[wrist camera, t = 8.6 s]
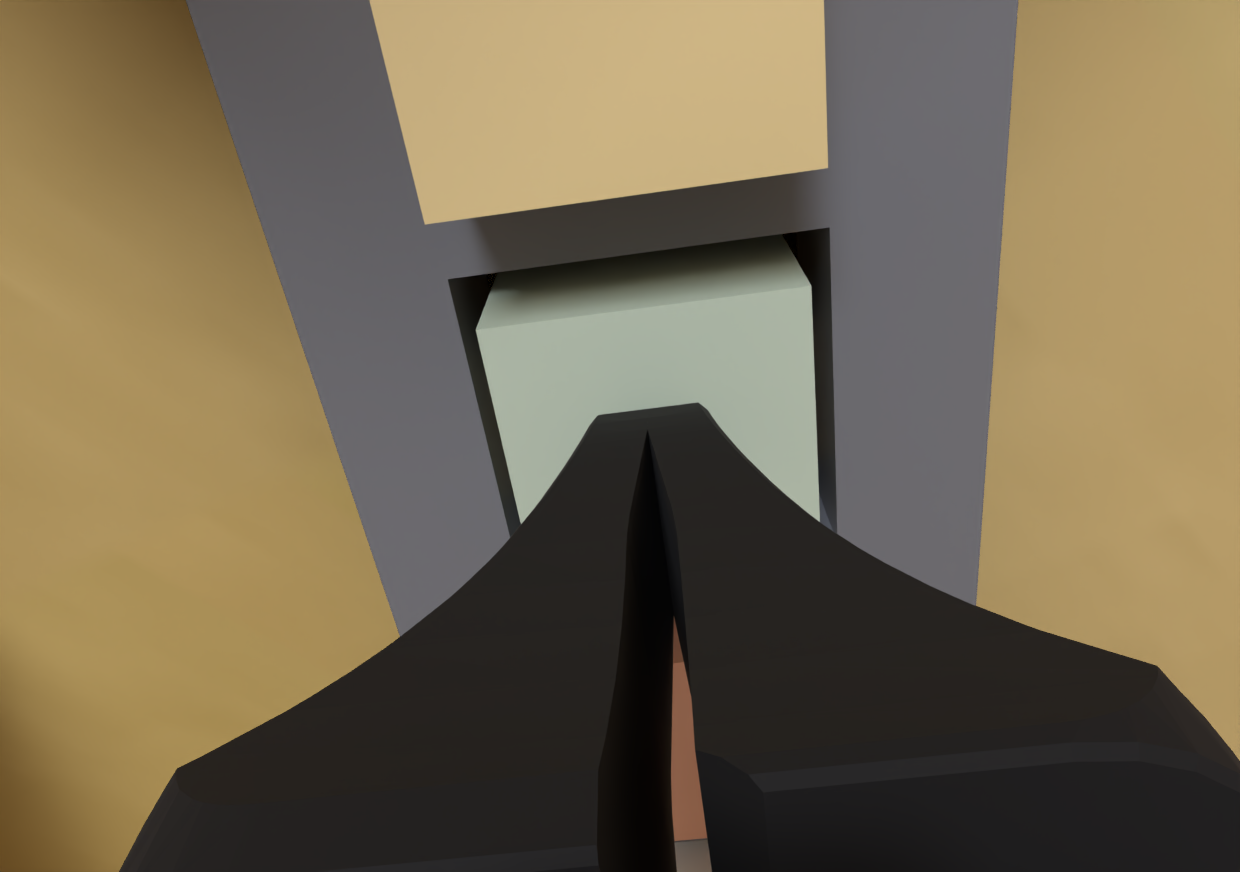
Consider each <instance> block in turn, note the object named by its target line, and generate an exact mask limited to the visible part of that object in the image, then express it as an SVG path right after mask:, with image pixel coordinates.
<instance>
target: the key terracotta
mask: <svg viewBox="0 0 1240 872" xmlns="http://www.w3.org/2000/svg"><path fill="white" fill-rule="evenodd" d="M671 790H672V816H673V829H674V841H680V840H691V839H702V838H707V832H706V825H705V818H704V811H703V804H702V796H701V789H700V782H699V775H698V768H697V761H696V753H695V742H694V727H693V713H692V699H691V694H690V689H689V684H688V680H687V675H686V670H685V666H684V661H683V656H682V651H681V647H680V642H679V637H678V633H677V628H676V623H675V618H674V637H673V696H672V750H671Z"/></svg>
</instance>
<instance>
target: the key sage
mask: <svg viewBox="0 0 1240 872" xmlns="http://www.w3.org/2000/svg"><path fill="white" fill-rule="evenodd" d="M476 333H477V338H478V342H479V346H480V351H481V355H482V359H483V363H484V368H485V372H486V376H487V381H488V385H489V389H490V394H491V398H492V402H493V406H494V411H495V415H496V419H497V424H498V428H499V432H500V437H501V441H502V445H503V449H504V454H505V458H506V462H507V467H508V471H509V475H510V479H511V484H512V488H513V492H514V497H515V501H516V505H517V510H518V514H519V518H520V522H521V524H522V523H523V521H524V520H525V519H526V518H527V516H528V515H529V514H530V513H531V512H532V510H533V509H534V508H535V507H536V505H537V504H538V503H539V501H540V500H541V499H542V497H543V496H544V494H545V493H546V492H547V490H548V489H549V487H550V486H551V485H552V483H553V482H554V480H555V479H556V477H557V476H558V475H559V473H560V472H561V470H562V469H563V467H564V466H565V464H566V463H567V461H568V460H569V458H570V457H571V455H572V454H573V452H574V450H575V449H576V447H577V446H578V444H579V442H580V441H581V439H582V437H583V436H584V434H585V432H586V431H587V429H588V427H589V425H590V424H591V423H592V422H593V420H594V419H595V418H596V417H597V416H598V415H602V414H610V413H618V412H626V411H634V410H642V409H650V408H658V407H666V406H673V405H681V404H689V403H697V402H698V403H700V404H701V405H702V406H704V407H705V408H706V409H707V410H708V411H709V412H710V414H711V416H712V417H713V418H714V420H715V421H716V423H717V424H718V425H719V427H720V428H721V429H722V430H723V432H724V433H725V434H726V435H727V436H728V437H729V439H730V440H731V441H732V442H733V443H734V444H735V445H736V447H737V448H738V449H739V450H740V451H741V452H742V453H743V454H744V455H745V456H746V457H747V458H748V459H749V460H750V461H751V462H752V463H753V464H754V465H755V466H756V467H757V468H758V469H759V470H760V471H761V472H762V473H763V474H764V475H765V476H766V477H767V478H768V479H769V480H770V481H771V482H772V483H773V484H774V485H776V486H777V487H778V488H779V489H780V490H781V491H782V492H783V493H784V494H786V495H787V496H788V497H789V498H790V499H792V500H793V501H794V502H795V503H796V504H798V505H799V506H800V507H801V508H803V509H804V510H805V511H806V512H807V513H809V514H810V515H811V516H813V517H814V518H815V519H816V520H818V521H819V522H820V510H819V482H818V455H817V427H816V400H815V372H814V345H813V317H812V290H811V284H810V283H809V281H808V279H807V277H806V276H805V274H804V272H803V270H802V269H801V267H800V265H799V263H798V262H797V260H796V258H795V256H794V255H793V253H792V251H791V249H790V248H789V246H788V244H787V242H786V241H785V239H784V237H783V235H782V234H777V235H770V236H763V237H755V238H748V239H740V240H733V241H726V242H718V243H711V244H704V245H696V246H689V247H681V248H674V249H667V250H659V251H652V252H645V253H637V254H630V255H622V256H615V257H608V258H600V259H593V260H586V261H578V262H571V263H563V264H556V265H549V266H541V267H534V268H527V269H519V270H512V271H504V272H497V275H496V278H495V280H494V283H493V286H492V288H491V291H490V294H489V296H488V299H487V301H486V304H485V307H484V309H483V312H482V315H481V317H480V320H479V323H478V325H477V328H476Z"/></svg>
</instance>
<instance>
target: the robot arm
mask: <svg viewBox="0 0 1240 872" xmlns="http://www.w3.org/2000/svg"><path fill="white" fill-rule="evenodd" d="M674 618H675V623H676V628H677V633H678V637H679V642H680V647H681V651H682V656H683V661H684V666H685V670H686V675H687V680H688V684H689V689H690V694H691V699H692V713H693V727H694V742H695V753H696V761H697V768H698V775H699V782H700V789H701V796H702V804H703V811H704V818H705V825H706V832H707V840H708V847H709V854H710V861H711V868H712V872H1240V761H1239V759H1238V758H1237V757H1236V755H1235V754H1234V753H1233V751H1232V750H1231V749H1230V748H1229V746H1228V745H1227V744H1226V743H1225V741H1224V740H1223V739H1222V738H1221V737H1220V735H1219V734H1218V733H1217V732H1216V730H1215V729H1214V728H1213V727H1212V726H1211V724H1210V723H1209V722H1208V721H1207V719H1206V718H1205V717H1204V716H1203V715H1202V714H1201V713H1200V712H1199V711H1198V710H1197V709H1196V708H1195V707H1194V705H1193V704H1192V703H1191V702H1190V701H1189V700H1188V699H1187V698H1186V697H1185V696H1184V695H1183V694H1182V693H1181V692H1180V691H1179V690H1178V689H1177V687H1176V686H1175V685H1174V684H1173V683H1172V682H1171V681H1170V680H1169V679H1168V677H1167V676H1166V675H1165V674H1164V673H1163V672H1162V671H1161V669H1160V668H1159V667H1157V666H1156V665H1152V664H1149V663H1146V662H1143V661H1139V660H1136V659H1133V658H1129V657H1126V656H1123V655H1119V654H1116V653H1113V652H1110V651H1106V650H1103V649H1100V648H1096V647H1093V646H1090V645H1087V644H1083V643H1080V642H1077V641H1073V640H1070V639H1067V638H1063V637H1060V636H1057V635H1054V634H1050V633H1047V632H1044V631H1041V630H1038V629H1035V628H1032V627H1029V626H1026V625H1024V624H1021V623H1019V622H1016V621H1014V620H1011V619H1008V618H1006V617H1003V616H1001V615H998V614H996V613H993V612H990V611H988V610H985V609H983V608H980V607H978V606H975V605H972V604H970V603H968V602H965V601H963V600H961V599H958V598H956V597H954V596H952V595H949V594H947V593H945V592H943V591H940V590H938V589H936V588H934V587H932V586H929V585H927V584H926V583H924V582H922V581H920V580H918V579H916V578H914V577H912V576H910V575H908V574H906V573H904V572H902V571H900V570H898V569H896V568H894V567H892V566H890V565H888V564H886V563H884V562H883V561H881V560H879V559H877V558H876V557H874V556H872V555H870V554H868V553H867V552H865V551H863V550H862V549H860V548H858V547H857V546H855V545H854V544H852V543H851V542H849V541H847V540H846V539H844V538H843V537H841V536H840V535H838V534H837V533H835V532H834V531H832V530H831V529H829V528H827V527H826V526H824V525H823V524H822V523H820V522H819V521H818V520H816V519H815V518H814V517H813V516H811V515H810V514H809V513H807V512H806V511H805V510H804V509H803V508H801V507H800V506H799V505H798V504H796V503H795V502H794V501H793V500H792V499H790V498H789V497H788V496H787V495H786V494H784V493H783V492H782V491H781V490H780V489H779V488H778V487H777V486H776V485H774V484H773V483H772V482H771V481H770V480H769V479H768V478H767V477H766V476H765V475H764V474H763V473H762V472H761V471H760V470H759V469H758V468H757V467H756V466H755V465H754V464H753V463H752V462H751V461H750V460H749V459H748V458H747V457H746V456H745V455H744V454H743V453H742V452H741V451H740V450H739V449H738V448H737V447H736V445H735V444H734V443H733V442H732V441H731V440H730V439H729V437H728V436H727V435H726V434H725V433H724V432H723V430H722V429H721V428H720V427H719V425H718V424H717V423H716V421H715V420H714V418H713V417H712V416H711V414H710V412H709V411H708V410H707V409H706V408H705V407H704V406H702V405H701V404H700V403H698V402H697V403H689V404H681V405H673V406H666V407H658V408H650V409H642V410H634V411H626V412H618V413H610V414H602V415H598V416H597V417H596V418H595V419H594V420H593V422H592V423H591V424H590V425H589V427H588V429H587V431H586V432H585V434H584V436H583V437H582V439H581V441H580V442H579V444H578V446H577V447H576V449H575V450H574V452H573V454H572V455H571V457H570V458H569V460H568V461H567V463H566V464H565V466H564V467H563V469H562V470H561V472H560V473H559V475H558V476H557V477H556V479H555V480H554V482H553V483H552V485H551V486H550V487H549V489H548V490H547V492H546V493H545V494H544V496H543V497H542V499H541V500H540V501H539V503H538V504H537V505H536V507H535V508H534V509H533V510H532V512H531V513H530V514H529V515H528V516H527V518H526V519H525V520H524V521H523V523H522V524H521V525H520V526H519V527H518V529H517V530H516V531H515V532H514V533H513V535H512V536H511V537H510V538H509V540H508V541H507V542H506V543H505V544H504V545H503V547H502V548H501V549H500V550H499V551H498V552H497V553H496V554H495V555H494V556H493V557H492V558H491V559H490V560H489V561H488V562H487V563H486V564H485V565H484V566H483V567H482V568H481V569H480V570H479V571H478V572H477V573H476V574H475V575H474V576H473V577H472V578H470V579H469V580H468V581H467V582H466V583H465V584H464V585H463V586H462V587H461V588H460V589H459V590H458V591H456V592H455V593H454V594H453V595H452V596H451V597H450V598H448V599H447V600H446V601H445V602H443V603H442V604H441V605H440V606H438V607H437V608H436V609H435V610H433V611H432V612H431V613H430V614H428V615H427V616H426V617H424V618H423V619H422V620H421V621H419V622H418V623H417V624H416V625H414V626H413V627H412V628H411V629H409V630H408V631H407V632H406V633H404V634H403V635H402V636H400V637H399V638H398V639H397V640H395V641H394V642H393V643H391V644H390V645H389V646H387V647H386V648H385V649H383V650H382V651H380V652H379V653H377V654H376V655H374V656H373V657H371V658H370V659H369V660H367V661H366V662H364V663H363V664H361V665H360V666H358V667H357V668H355V669H354V670H352V671H351V672H349V673H348V674H346V675H345V676H343V677H341V678H340V679H338V680H337V681H335V682H334V683H332V684H330V685H329V686H327V687H326V688H324V689H322V690H321V691H319V692H318V693H316V694H314V695H313V696H311V697H310V698H308V699H306V700H304V701H303V702H301V703H299V704H298V705H296V706H294V707H293V708H291V709H289V710H287V711H286V712H284V713H282V714H280V715H278V716H276V717H275V718H273V719H271V720H269V721H267V722H265V723H263V724H262V725H260V726H258V727H256V728H254V729H252V730H250V731H248V732H247V733H245V734H243V735H241V736H239V737H237V738H235V739H233V740H232V741H230V742H228V743H226V744H224V745H222V746H220V747H219V748H217V749H215V750H213V751H211V752H209V753H207V754H205V755H204V756H202V757H200V758H198V759H196V760H194V761H191V762H189V763H187V764H185V765H183V766H181V767H179V768H177V770H176V771H175V773H174V775H173V776H172V778H171V779H170V781H169V783H168V784H167V786H166V788H165V789H164V791H163V793H162V794H161V796H160V798H159V800H158V801H157V803H156V805H155V807H154V808H153V810H152V812H151V813H150V815H149V817H148V819H147V820H146V822H145V824H144V825H143V827H142V829H141V831H140V833H139V835H138V837H137V839H136V841H135V843H134V844H133V846H132V848H131V850H130V852H129V854H128V856H127V858H126V860H125V861H124V863H123V865H122V867H121V869H120V871H119V872H677V866H676V854H675V841H674V829H673V816H672V790H671V750H672V696H673V637H674Z"/></svg>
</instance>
